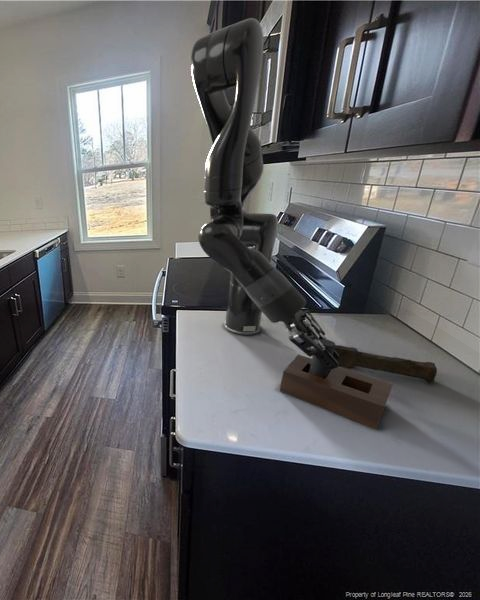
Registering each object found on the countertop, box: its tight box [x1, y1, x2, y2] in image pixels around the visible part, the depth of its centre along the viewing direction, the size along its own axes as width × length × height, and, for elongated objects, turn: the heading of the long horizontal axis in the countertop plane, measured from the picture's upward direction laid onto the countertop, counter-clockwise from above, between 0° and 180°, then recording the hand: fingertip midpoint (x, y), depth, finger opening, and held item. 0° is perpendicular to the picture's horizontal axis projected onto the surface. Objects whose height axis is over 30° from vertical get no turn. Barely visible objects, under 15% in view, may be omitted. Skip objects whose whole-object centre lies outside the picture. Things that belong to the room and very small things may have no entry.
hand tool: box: [334, 344, 438, 384], centre depth 71 cm, size 19×4×5 cm, turn 58°
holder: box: [279, 354, 394, 430], centre depth 63 cm, size 9×16×5 cm, turn 41°
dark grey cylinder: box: [308, 339, 336, 379], centre depth 63 cm, size 3×3×9 cm
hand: (333, 363), depth 62 cm, fingers closed on dark grey cylinder, 3 cm apart
